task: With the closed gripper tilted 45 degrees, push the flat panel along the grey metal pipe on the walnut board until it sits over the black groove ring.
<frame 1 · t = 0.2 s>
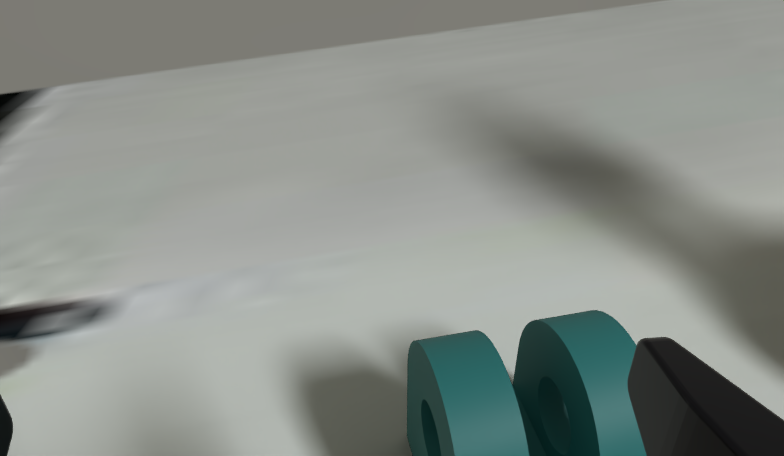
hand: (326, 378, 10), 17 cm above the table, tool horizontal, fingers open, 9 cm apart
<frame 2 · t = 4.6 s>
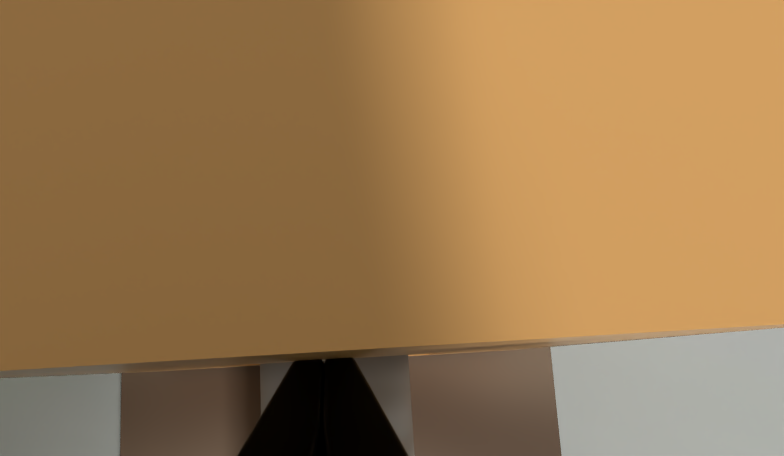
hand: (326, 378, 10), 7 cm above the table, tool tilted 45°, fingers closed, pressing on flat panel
pipe board: (344, 429, 16), on the table
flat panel: (321, 223, 10), point 7 cm above the table, slide at 1.7 cm, touching gripper
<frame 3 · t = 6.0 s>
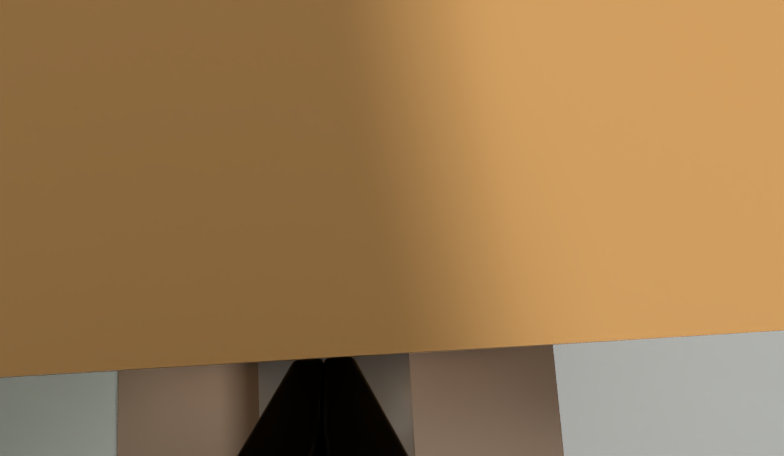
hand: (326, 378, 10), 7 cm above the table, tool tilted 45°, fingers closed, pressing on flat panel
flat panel: (320, 219, 10), point 7 cm above the table, slide at 6.0 cm, touching gripper
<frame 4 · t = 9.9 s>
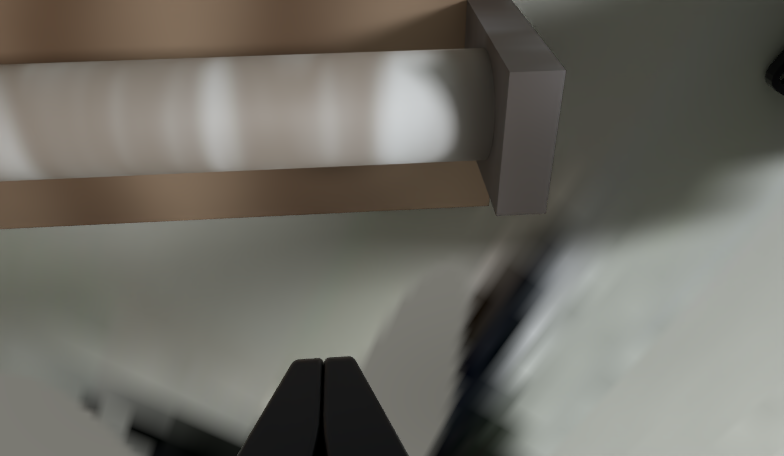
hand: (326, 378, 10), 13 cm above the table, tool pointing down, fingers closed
pipe board: (90, 63, 20), on the table
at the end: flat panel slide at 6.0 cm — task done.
